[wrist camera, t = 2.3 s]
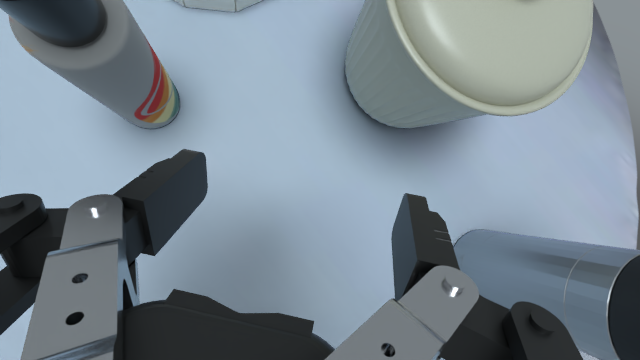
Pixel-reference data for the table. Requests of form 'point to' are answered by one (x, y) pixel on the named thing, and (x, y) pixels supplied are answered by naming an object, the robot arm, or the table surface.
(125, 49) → the lotion bottle
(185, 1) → the bowl
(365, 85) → the canister
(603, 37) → the table surface
